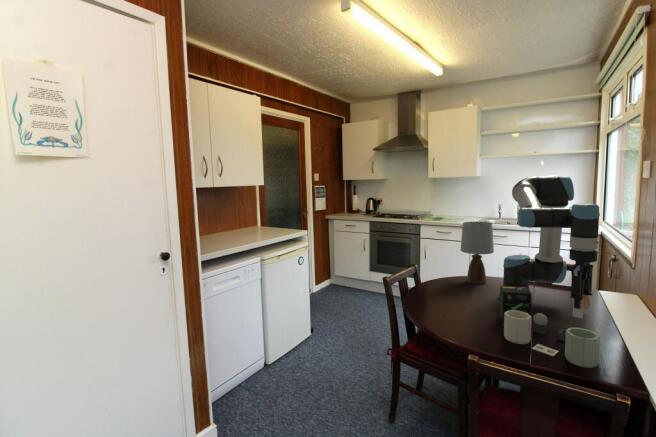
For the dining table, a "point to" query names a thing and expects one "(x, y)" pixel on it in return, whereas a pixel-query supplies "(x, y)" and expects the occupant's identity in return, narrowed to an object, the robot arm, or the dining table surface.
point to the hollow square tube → (562, 334)
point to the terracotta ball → (585, 303)
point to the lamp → (477, 248)
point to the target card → (545, 350)
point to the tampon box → (514, 300)
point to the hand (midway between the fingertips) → (580, 314)
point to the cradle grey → (539, 328)
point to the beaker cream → (517, 327)
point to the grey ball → (540, 319)
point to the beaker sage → (582, 347)
